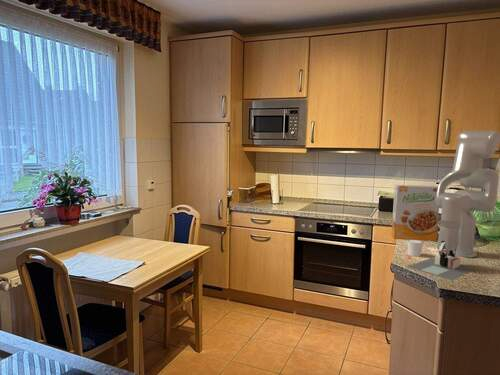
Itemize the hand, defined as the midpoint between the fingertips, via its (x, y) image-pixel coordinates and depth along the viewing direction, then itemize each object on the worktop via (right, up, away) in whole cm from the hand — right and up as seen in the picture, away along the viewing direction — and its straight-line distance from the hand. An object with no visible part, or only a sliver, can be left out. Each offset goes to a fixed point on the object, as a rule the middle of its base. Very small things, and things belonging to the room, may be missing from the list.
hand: (446, 264), depth 164 cm
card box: (0, -1, 0) cm, 0 cm away
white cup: (-8, +1, +15) cm, 17 cm away
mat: (-4, -1, -3) cm, 6 cm away
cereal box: (+6, +5, +47) cm, 48 cm away
